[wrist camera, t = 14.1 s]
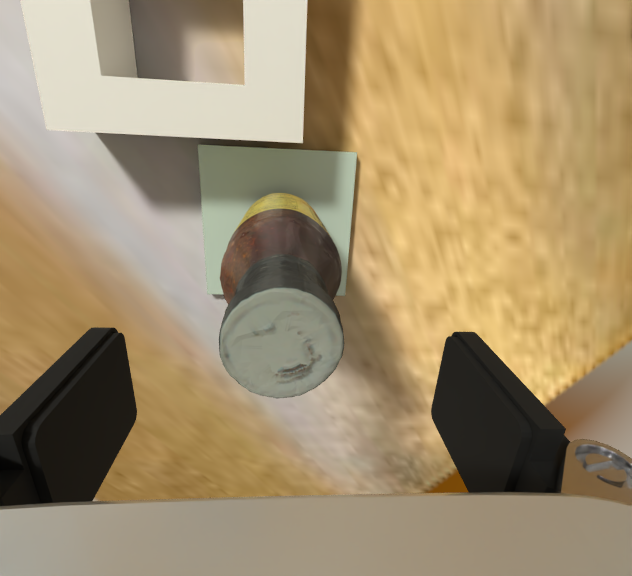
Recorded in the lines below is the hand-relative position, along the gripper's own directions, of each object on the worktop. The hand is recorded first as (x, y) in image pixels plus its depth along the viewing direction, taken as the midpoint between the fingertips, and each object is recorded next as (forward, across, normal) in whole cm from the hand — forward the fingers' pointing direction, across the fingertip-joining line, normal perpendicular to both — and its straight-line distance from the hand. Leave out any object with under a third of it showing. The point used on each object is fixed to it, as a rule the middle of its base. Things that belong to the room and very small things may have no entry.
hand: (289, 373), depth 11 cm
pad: (+22, +1, +1) cm, 22 cm away
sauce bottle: (+21, +1, 0) cm, 21 cm away
